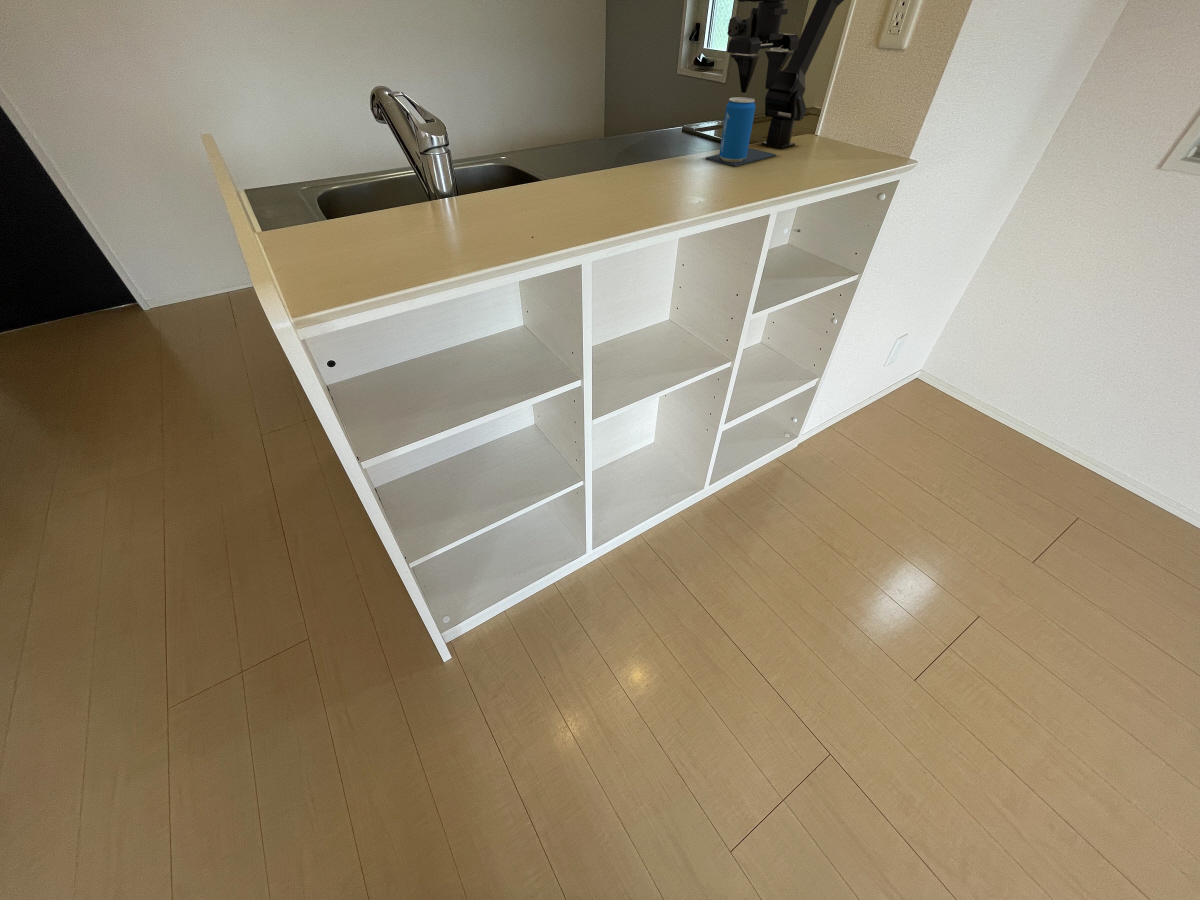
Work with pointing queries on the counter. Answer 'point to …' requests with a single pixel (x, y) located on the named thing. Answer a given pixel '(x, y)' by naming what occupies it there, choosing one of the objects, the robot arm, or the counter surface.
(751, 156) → the mat
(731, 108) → the beverage can
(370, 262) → the counter surface
